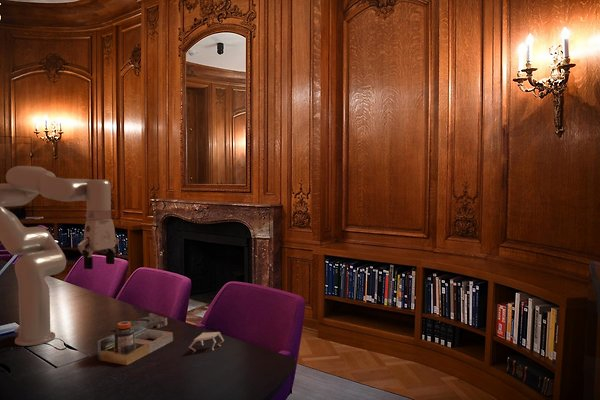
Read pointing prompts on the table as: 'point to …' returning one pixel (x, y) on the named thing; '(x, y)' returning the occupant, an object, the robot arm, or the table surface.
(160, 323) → the graphics card
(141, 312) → the table surface
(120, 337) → the pill bottle
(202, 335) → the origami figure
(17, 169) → the robot arm
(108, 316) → the table surface
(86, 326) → the table surface
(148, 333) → the two-compartment cubby organizer
